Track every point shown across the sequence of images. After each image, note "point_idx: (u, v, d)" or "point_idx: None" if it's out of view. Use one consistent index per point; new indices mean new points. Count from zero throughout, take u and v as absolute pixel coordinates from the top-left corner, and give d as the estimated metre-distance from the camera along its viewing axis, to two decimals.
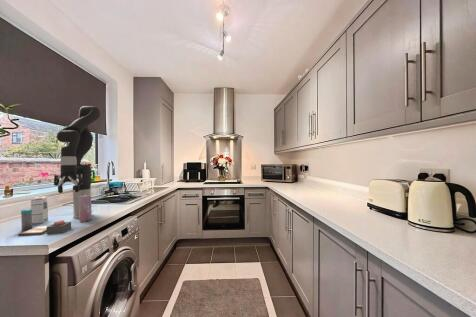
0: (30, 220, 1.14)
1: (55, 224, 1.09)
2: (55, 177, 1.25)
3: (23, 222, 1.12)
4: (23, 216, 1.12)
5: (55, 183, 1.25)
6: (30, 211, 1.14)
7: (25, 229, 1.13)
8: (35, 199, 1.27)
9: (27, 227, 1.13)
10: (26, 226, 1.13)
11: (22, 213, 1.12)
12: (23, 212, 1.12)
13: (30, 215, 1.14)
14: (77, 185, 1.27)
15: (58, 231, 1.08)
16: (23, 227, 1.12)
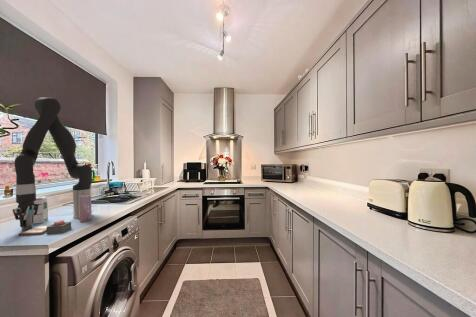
0: (30, 220, 1.14)
1: (55, 224, 1.09)
2: (19, 211, 1.09)
3: None
4: None
5: (21, 217, 1.10)
6: (30, 211, 1.14)
7: (25, 229, 1.13)
8: None
9: (27, 227, 1.13)
10: (26, 226, 1.13)
11: (22, 213, 1.12)
12: None
13: (30, 215, 1.14)
14: (33, 216, 1.17)
15: (58, 231, 1.08)
16: (23, 227, 1.12)
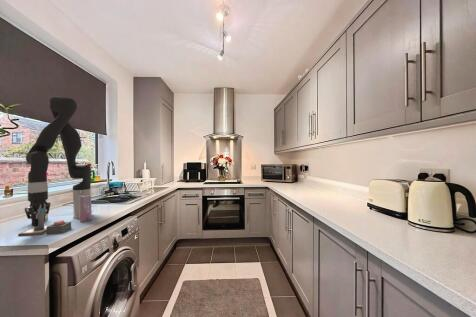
0: (42, 219, 1.10)
1: (55, 224, 1.09)
2: (31, 210, 1.05)
3: None
4: None
5: (33, 216, 1.06)
6: (42, 210, 1.10)
7: (37, 228, 1.09)
8: None
9: (39, 226, 1.09)
10: (38, 225, 1.09)
11: None
12: None
13: (42, 214, 1.11)
14: (45, 215, 1.14)
15: (58, 231, 1.08)
16: None
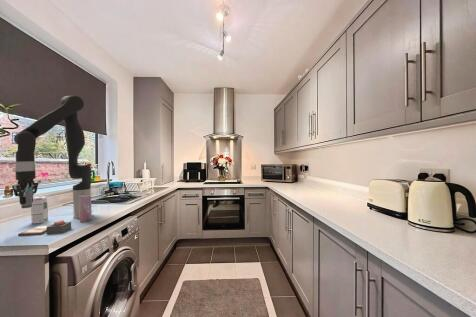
0: (30, 198, 1.14)
1: (55, 224, 1.09)
2: (19, 187, 1.09)
3: None
4: None
5: (21, 193, 1.10)
6: (30, 189, 1.14)
7: (25, 206, 1.13)
8: (35, 199, 1.27)
9: (27, 204, 1.13)
10: None
11: (22, 190, 1.12)
12: None
13: (30, 193, 1.14)
14: (32, 194, 1.17)
15: (58, 231, 1.08)
16: (23, 204, 1.12)
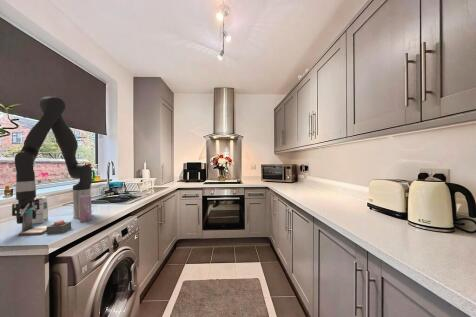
0: (30, 220, 1.14)
1: (55, 224, 1.09)
2: (18, 206, 1.08)
3: (23, 222, 1.12)
4: (23, 216, 1.12)
5: (18, 213, 1.08)
6: (30, 211, 1.14)
7: (25, 229, 1.13)
8: None
9: (27, 227, 1.13)
10: (26, 225, 1.13)
11: None
12: None
13: (30, 215, 1.14)
14: None
15: (58, 231, 1.08)
16: (23, 227, 1.12)
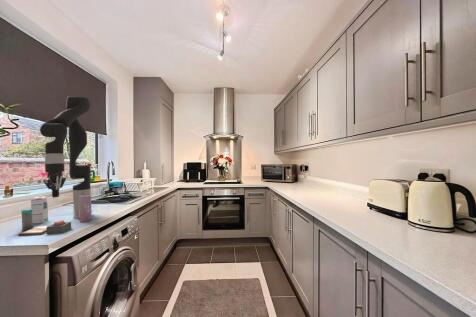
0: (30, 220, 1.14)
1: (55, 224, 1.09)
2: (50, 181, 1.06)
3: (23, 222, 1.12)
4: (23, 216, 1.12)
5: (53, 186, 1.08)
6: (30, 211, 1.14)
7: (25, 229, 1.13)
8: (35, 199, 1.27)
9: (27, 227, 1.13)
10: (26, 225, 1.13)
11: (22, 213, 1.12)
12: (23, 212, 1.12)
13: (30, 215, 1.14)
14: (59, 188, 1.12)
15: (58, 231, 1.08)
16: (23, 227, 1.12)
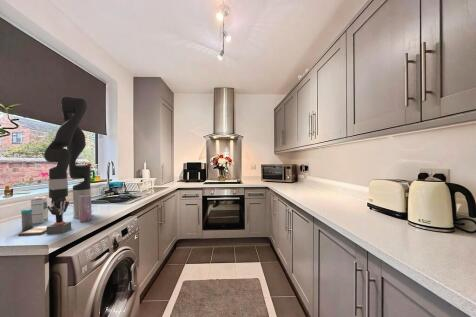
0: (30, 220, 1.14)
1: (55, 225, 1.09)
2: (54, 208, 1.06)
3: (23, 222, 1.12)
4: (23, 216, 1.12)
5: (57, 212, 1.08)
6: (30, 211, 1.14)
7: (25, 229, 1.13)
8: (35, 199, 1.27)
9: (27, 227, 1.13)
10: (26, 225, 1.13)
11: (22, 213, 1.12)
12: (23, 212, 1.12)
13: (30, 215, 1.14)
14: (62, 213, 1.12)
15: (58, 231, 1.08)
16: (23, 227, 1.12)
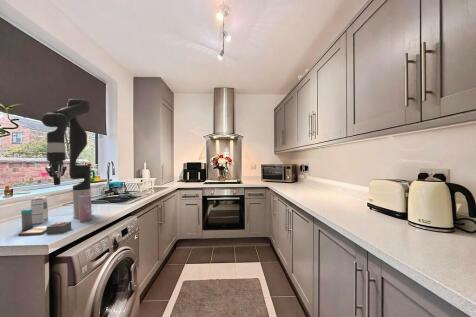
0: (30, 220, 1.14)
1: None
2: (52, 169, 1.10)
3: (23, 222, 1.12)
4: (23, 216, 1.12)
5: (55, 174, 1.12)
6: (30, 211, 1.14)
7: (25, 229, 1.13)
8: (35, 199, 1.27)
9: (27, 227, 1.13)
10: (26, 225, 1.13)
11: (22, 213, 1.12)
12: (23, 212, 1.12)
13: (30, 215, 1.14)
14: None
15: (58, 231, 1.08)
16: (23, 227, 1.12)
